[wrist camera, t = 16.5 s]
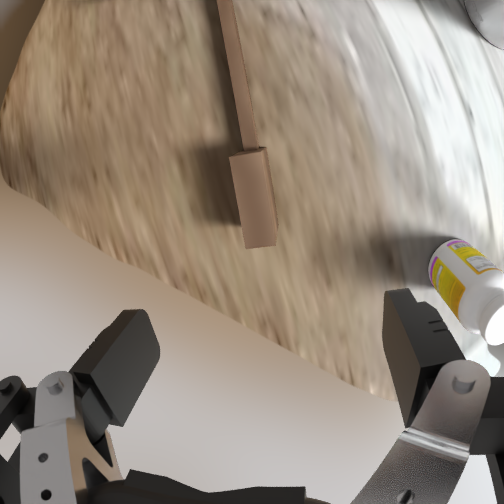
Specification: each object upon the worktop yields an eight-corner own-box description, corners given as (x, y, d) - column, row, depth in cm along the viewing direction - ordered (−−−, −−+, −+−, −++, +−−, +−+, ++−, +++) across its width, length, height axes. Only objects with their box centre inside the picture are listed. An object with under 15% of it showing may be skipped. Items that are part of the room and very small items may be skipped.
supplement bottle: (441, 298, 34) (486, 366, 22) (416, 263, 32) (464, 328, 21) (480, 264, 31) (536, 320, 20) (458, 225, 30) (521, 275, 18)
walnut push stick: (252, -38, 22) (244, -65, 17) (299, 222, 32) (301, 242, 27) (187, -23, 23) (168, -46, 18) (233, 230, 34) (221, 251, 28)
